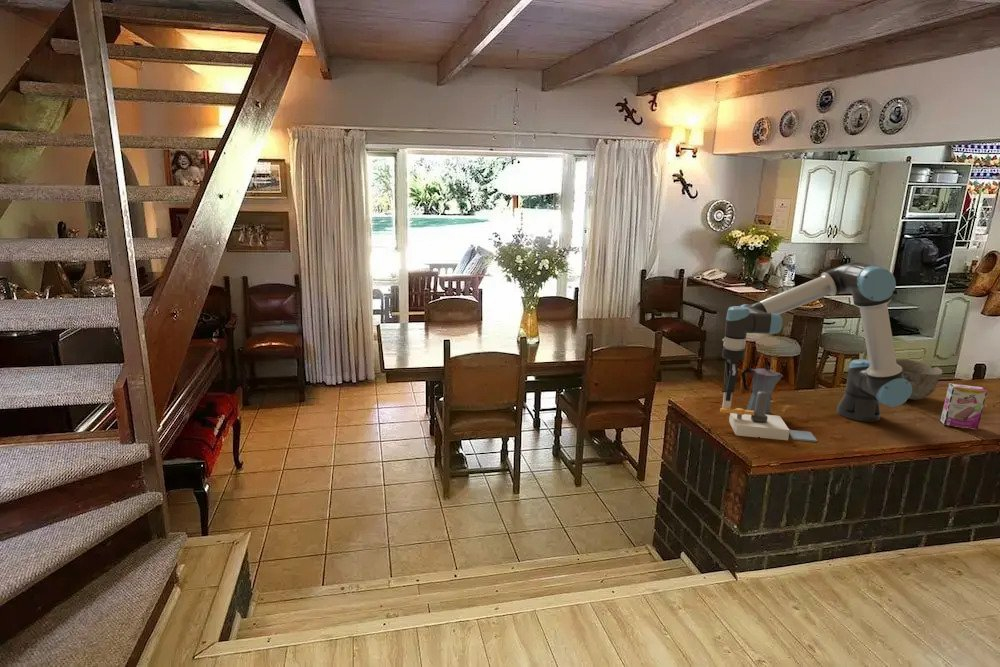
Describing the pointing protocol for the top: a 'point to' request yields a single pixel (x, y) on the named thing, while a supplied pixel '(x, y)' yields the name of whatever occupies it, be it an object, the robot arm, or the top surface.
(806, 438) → the pad
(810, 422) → the top surface
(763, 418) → the plug
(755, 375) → the moka pot
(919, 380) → the bowl
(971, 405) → the candy bar box
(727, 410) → the orange bar with knob
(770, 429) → the socket board
